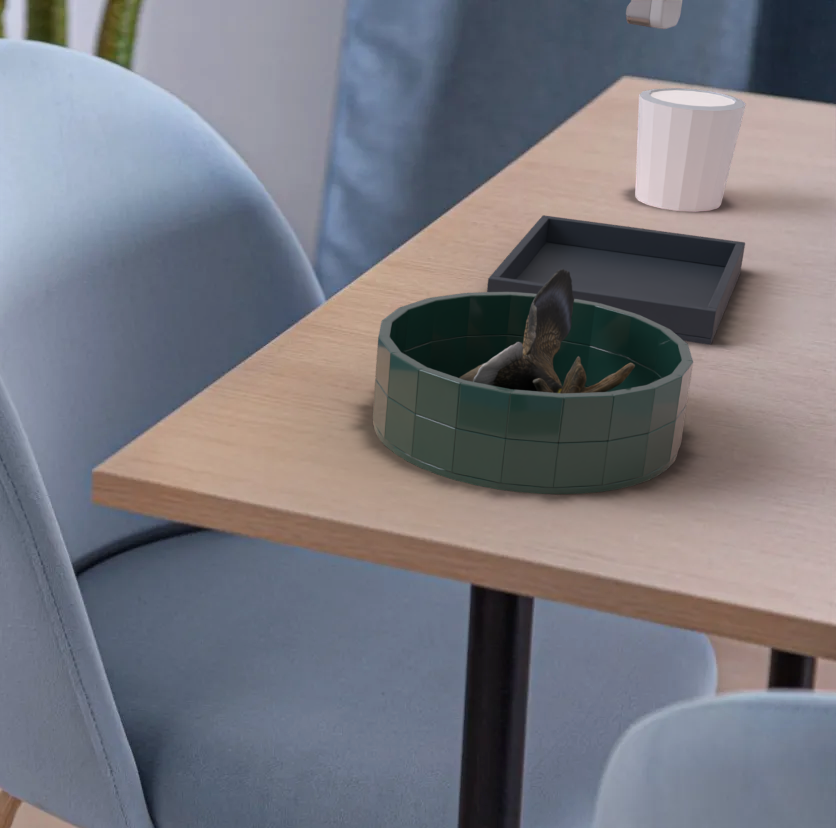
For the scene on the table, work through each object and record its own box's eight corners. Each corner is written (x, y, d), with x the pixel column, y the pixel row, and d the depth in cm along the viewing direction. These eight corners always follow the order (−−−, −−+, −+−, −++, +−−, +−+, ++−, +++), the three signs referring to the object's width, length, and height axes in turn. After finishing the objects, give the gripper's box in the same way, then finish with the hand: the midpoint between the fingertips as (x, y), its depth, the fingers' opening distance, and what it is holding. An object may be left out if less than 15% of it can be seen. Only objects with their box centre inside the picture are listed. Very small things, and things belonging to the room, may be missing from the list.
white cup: (731, 221, 114) (748, 112, 111) (624, 210, 115) (638, 103, 112) (728, 195, 120) (744, 91, 117) (626, 185, 121) (640, 82, 118)
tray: (539, 247, 106) (542, 214, 106) (740, 275, 103) (745, 242, 102) (484, 314, 94) (488, 278, 94) (710, 348, 91) (716, 311, 90)
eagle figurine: (668, 433, 76) (602, 327, 83) (608, 312, 71) (543, 212, 78) (511, 517, 77) (459, 407, 84) (443, 404, 73) (393, 297, 80)
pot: (433, 362, 87) (441, 274, 85) (706, 415, 82) (721, 323, 81) (325, 456, 76) (331, 357, 74) (634, 524, 71) (649, 420, 69)
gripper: (899, -383, 59) (828, 36, 65) (382, -396, 69) (361, -31, 75) (838, -395, 55) (767, 58, 61) (292, -407, 65) (277, -16, 71)
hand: (538, 8), depth 68 cm, fingers open, 8 cm apart
